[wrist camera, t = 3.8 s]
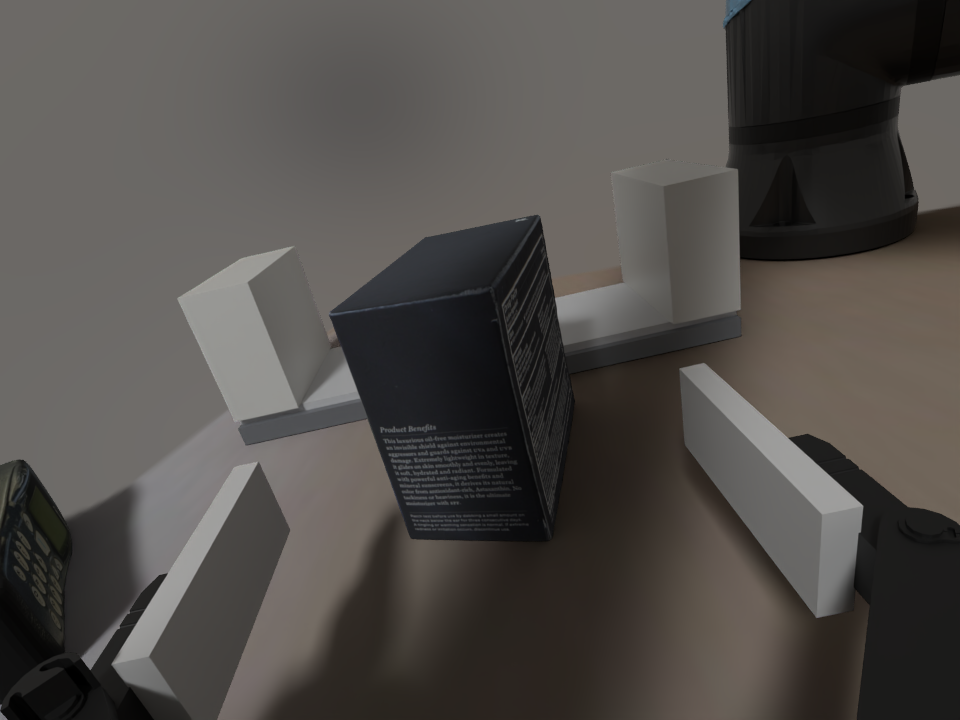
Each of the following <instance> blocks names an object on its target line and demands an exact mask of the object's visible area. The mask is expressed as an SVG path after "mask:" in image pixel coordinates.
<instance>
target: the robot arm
mask: <svg viewBox="0 0 960 720" xmlns="http://www.w3.org/2000/svg"><path fill="white" fill-rule="evenodd" d="M723 27H724V29H726V50H727V83H728V118H729V157H728V161H727V164H726V167H727V168H734V169H738V192H739V245H740V257H746V258H757V259H803V258H817V257H826V256H835V255H842V254H848V253H854V252H859V251H864V250H869V249H873V248H877V247H880V246H884V245H887V244H890V243H893V242H895V241H898V240H900V239H902V238H904V237H906V236H908V235H909V234H911V233H912V232H913V231H914V230H915V228H916V220H917V211H918V196H917V193H916V191H915V190H914V187H913V182H912V177H911V173H910V170H909V166H908V162H907V159H906V156H905V152H904V149H903V145H902V142H901V139H900V135H899V132H898V114H899V103H900V94H901V93H900V92H901V88H902V87H903V86H905V85H910V84H915V83H921V82H926V81H930V80H936V79H941V78H946V77H952V76H957V75H960V0H726V17H725V19H724V21H723ZM679 373H680V387H681V401H682V415H683V428H684V442H685V446H686V447H687V448H688V450H689V451H690V452H691V454H692V455H693V456H694V457H695V459H696V460H697V461H698V463H699V464H700V465H701V467H702V468H703V469H704V471H705V472H706V473H707V475H708V476H709V477H710V479H711V480H712V481H713V482H714V484H715V485H716V486H717V488H718V489H719V490H720V492H721V493H722V494H723V496H724V497H725V498H726V500H727V501H728V502H729V504H730V505H731V506H732V507H733V509H734V510H735V511H736V513H737V514H738V515H739V517H740V518H741V519H742V521H743V522H744V523H745V525H746V526H747V527H748V528H749V530H750V531H751V532H752V534H753V535H754V536H755V538H756V539H757V540H758V542H759V543H760V544H761V546H762V547H763V548H764V550H765V551H766V552H767V553H768V555H769V556H770V557H771V559H772V560H773V561H774V563H775V564H776V565H777V567H778V568H779V569H780V571H781V572H782V573H783V575H784V576H785V577H786V578H787V580H788V581H789V582H790V584H791V585H792V586H793V588H794V589H795V590H796V592H797V593H798V594H799V596H800V597H801V598H802V599H803V601H804V602H805V603H806V605H807V606H808V607H809V609H810V610H811V611H812V613H813V614H814V615H815V617H816V618H819V617H824V616H829V615H834V614H838V613H843V612H848V611H853V610H854V599H855V589H856V590H857V591H858V592H859V594H860V595H861V596H862V597H863V598H864V599H865V600H866V601H867V603H868V604H869V605H870V610H869V618H868V627H867V635H866V644H865V653H864V661H863V670H862V678H861V687H860V695H859V704H858V712H857V720H960V525H959V524H958V523H957V522H955V521H953V520H951V519H949V518H948V517H946V516H944V515H942V514H939V513H936V512H933V511H929V510H926V509H920V508H910V507H907V506H906V505H905V504H903V503H902V502H901V501H900V500H899V499H897V498H896V497H895V496H894V495H892V494H891V493H890V492H889V491H887V490H886V489H885V488H884V487H883V486H881V485H880V484H879V483H878V482H876V481H875V480H874V479H873V478H872V477H870V476H869V475H868V474H867V473H865V472H864V471H863V470H859V467H858V466H857V465H856V464H854V463H853V462H852V461H851V460H849V459H846V456H845V455H843V454H842V453H841V452H840V451H838V450H837V449H836V448H835V447H834V446H832V445H831V444H830V443H828V442H825V441H823V440H821V439H818V438H816V437H814V436H811V435H809V434H805V435H800V436H795V437H791V438H787V437H786V436H785V435H784V434H783V433H782V432H781V431H780V430H778V429H777V428H776V427H775V426H774V425H773V424H772V423H771V422H770V421H768V420H767V419H766V418H765V417H764V416H763V415H762V414H761V413H760V412H758V411H757V410H756V409H755V408H754V407H753V406H752V405H751V404H750V403H748V402H747V401H746V400H745V399H744V398H743V397H742V396H741V395H740V394H738V393H737V392H736V391H735V390H734V389H733V388H732V387H731V386H730V385H728V384H727V383H726V382H725V381H724V380H723V379H722V378H721V377H719V376H718V375H717V374H716V373H715V372H714V371H713V370H712V369H711V368H709V367H708V366H707V365H706V364H705V363H702V364H697V365H693V366H688V367H684V368H679ZM289 532H290V528H289V526H288V524H287V522H286V520H285V517H284V515H283V513H282V511H281V509H280V507H279V505H278V502H277V500H276V498H275V496H274V494H273V492H272V489H271V487H270V485H269V483H268V481H267V479H266V476H265V474H264V472H263V470H262V468H261V466H260V464H259V462H254V463H250V464H245V465H241V466H236V467H234V469H233V470H232V472H231V473H230V475H229V477H228V478H227V480H226V481H225V483H224V485H223V486H222V488H221V489H220V491H219V493H218V494H217V496H216V497H215V499H214V501H213V502H212V504H211V506H210V507H209V509H208V510H207V512H206V514H205V515H204V517H203V518H202V520H201V522H200V523H199V525H198V526H197V528H196V530H195V531H194V533H193V534H192V536H191V538H190V539H189V541H188V542H187V544H186V546H185V547H184V549H183V550H182V552H181V554H180V555H179V557H178V558H177V560H176V562H175V563H174V565H173V566H172V568H171V570H170V571H169V573H167V574H162V575H159V576H158V577H157V578H156V579H155V580H154V581H153V582H152V583H151V584H150V585H149V586H148V587H147V588H146V589H145V590H144V591H143V592H142V593H141V594H140V596H139V597H138V599H137V600H136V602H135V603H134V605H133V606H132V608H131V609H130V614H127V615H126V617H125V618H124V620H123V622H122V623H121V625H120V629H118V630H117V631H116V632H115V634H114V635H113V637H112V638H111V640H110V641H109V643H108V644H107V646H106V647H105V649H104V650H103V652H102V654H101V655H100V657H99V658H98V660H97V661H96V663H95V664H94V666H93V667H92V669H91V670H89V668H88V667H87V666H86V664H85V663H84V662H83V660H82V659H81V658H80V657H79V656H78V654H77V653H68V652H67V653H63V654H60V655H57V656H54V657H52V658H50V659H48V660H46V661H44V662H42V663H40V664H39V665H37V666H36V667H35V668H33V669H32V670H31V671H29V672H28V673H27V674H25V675H24V676H23V677H22V678H21V679H20V680H19V681H18V682H17V683H16V684H15V685H14V686H13V687H12V688H11V690H10V691H9V693H8V694H7V695H6V697H5V698H4V700H3V703H2V706H1V710H0V711H1V713H2V714H3V715H4V716H5V717H6V718H7V719H8V720H217V718H218V716H219V713H220V710H221V708H222V705H223V703H224V700H225V698H226V695H227V692H228V690H229V687H230V685H231V682H232V679H233V677H234V674H235V672H236V669H237V667H238V664H239V661H240V659H241V656H242V654H243V651H244V648H245V646H246V643H247V641H248V638H249V636H250V633H251V630H252V628H253V625H254V623H255V620H256V617H257V615H258V612H259V610H260V607H261V604H262V602H263V599H264V597H265V594H266V592H267V589H268V586H269V584H270V581H271V579H272V576H273V573H274V571H275V568H276V566H277V563H278V561H279V558H280V555H281V553H282V550H283V548H284V545H285V542H286V540H287V537H288V535H289Z"/></svg>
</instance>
